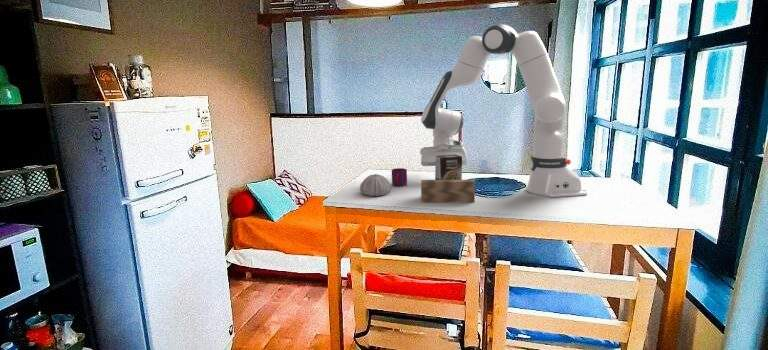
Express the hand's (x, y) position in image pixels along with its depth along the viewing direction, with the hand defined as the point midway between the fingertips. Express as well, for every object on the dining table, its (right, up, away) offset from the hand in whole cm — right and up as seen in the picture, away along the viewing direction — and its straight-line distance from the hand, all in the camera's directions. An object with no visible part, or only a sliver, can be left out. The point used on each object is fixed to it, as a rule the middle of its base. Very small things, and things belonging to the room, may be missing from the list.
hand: (444, 172), depth 173 cm
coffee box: (0, -9, -12) cm, 15 cm away
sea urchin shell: (-30, -9, -6) cm, 32 cm away
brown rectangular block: (-2, -11, -20) cm, 23 cm away
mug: (-20, -6, +5) cm, 21 cm away
